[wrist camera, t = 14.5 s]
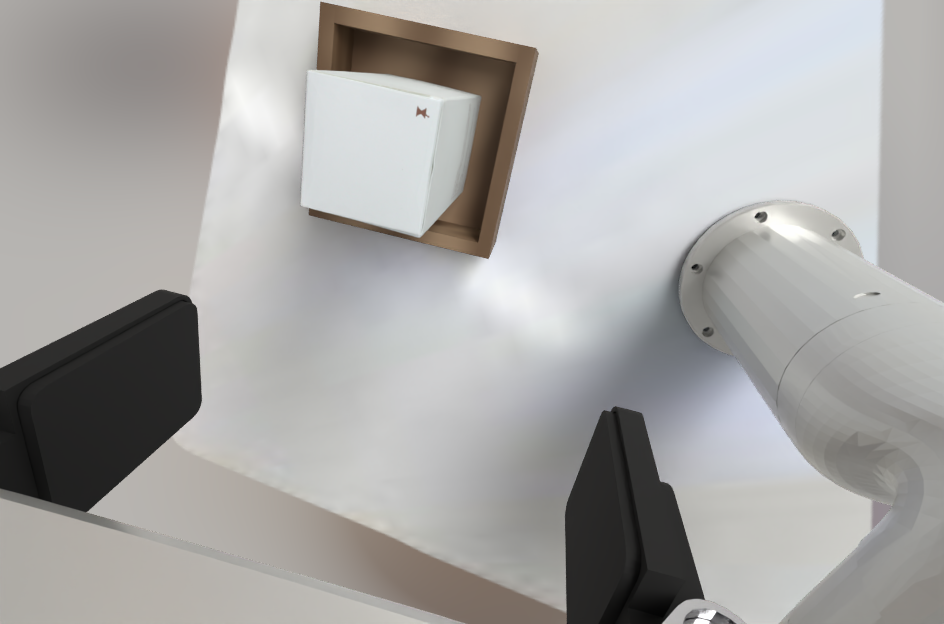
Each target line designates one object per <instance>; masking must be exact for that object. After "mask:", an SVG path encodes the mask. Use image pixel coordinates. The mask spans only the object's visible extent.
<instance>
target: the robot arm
mask: <svg viewBox="0 0 944 624" xmlns="http://www.w3.org/2000/svg"><path fill="white" fill-rule="evenodd" d="M758 212H760V215H759V217H757V218H754V217H755V215H756V213H758ZM834 231H836V232H835V234H833V235H832V233H833V232H834ZM695 264H697V267H696V268H691V267H692V266H693V265H695ZM678 295H679V300H680V306H681V309H682V312H683V314H684V316H685V318H686V321H687V322H688V324H689V325H690V327H691V329H692V330H693V331H694V332H695V334H696V335H697V336H698V337H699V338H700V339H701V340H702V341H704V342H705V343H707V344H708V345H709V346H711V347H712V348H714V349H716V350H718V351H721V352H723V353H725V354H728V355H732V356H735V358H736V359H737V361H738V362H739V364H740V365H741V367H742V368H743V370H744V371H745V373H746V374H747V376H748V377H749V379H750V380H751V382H752V383H753V385H754V386H755V388H756V389H757V391H758V392H759V394H760V395H761V397H762V398H763V400H764V401H765V403H766V404H767V406H768V407H769V409H770V410H771V412H772V413H773V415H774V416H775V418H776V419H777V421H778V422H779V424H780V425H781V427H782V428H783V430H784V431H785V433H786V434H787V435H788V437H789V438H790V439H791V441H792V442H793V444H794V445H795V447H796V448H797V450H798V451H799V452H800V453H801V455H802V456H803V457H804V458H805V459H806V461H807V462H808V463H809V464H810V465H811V466H812V467H814V468H815V469H816V470H817V471H818V472H819V473H820V474H822V475H823V476H825V477H826V478H828V479H829V480H831V481H832V482H834V483H835V484H837V485H839V486H840V487H842V488H844V489H846V490H848V491H850V492H853V493H855V494H858V495H860V496H863V497H866V498H868V499H871V500H874V501H877V502H880V503H884V504H888V505H892V507H891V508H890V510H889V512H888V513H887V515H886V516H885V517H884V518H883V519H882V520H881V521H880V522H879V524H878V525H877V526H876V527H875V528H874V529H873V530H872V531H871V532H870V533H869V534H868V535H867V536H865V537H864V538H863V539H862V540H861V541H860V543H859V545H858V547H857V548H856V549H855V550H853V551H852V552H851V553H850V554H849V555H848V556H847V557H846V558H845V559H844V560H843V561H842V562H841V563H840V564H839V565H838V566H837V567H836V568H835V569H833V570H832V571H831V572H830V573H829V574H828V575H827V576H826V577H825V578H824V579H823V580H822V581H821V582H820V583H819V584H818V585H817V586H816V587H815V588H813V589H812V590H811V591H810V592H809V593H808V594H807V595H806V596H805V597H804V598H803V599H802V600H801V601H800V602H799V603H798V604H797V605H796V607H795V608H794V609H792V610H791V611H790V612H789V613H788V614H787V615H786V616H785V617H784V618H783V619H782V620H781V622H780V623H779V624H944V303H943V302H941V301H939V300H937V299H936V298H934V297H932V296H930V295H928V294H927V293H925V292H923V291H921V290H919V289H917V288H916V287H914V286H912V285H910V284H908V283H906V282H905V281H903V280H901V279H899V278H897V277H896V276H894V275H892V274H890V273H888V272H887V271H885V270H883V269H881V268H879V267H877V266H876V265H874V264H872V263H870V262H868V261H866V260H865V259H864V257H863V254H862V251H861V247H860V244H859V242H858V240H857V239H856V237H855V235H854V234H853V232H852V230H851V229H850V228H849V227H848V226H847V225H846V224H845V223H844V222H843V221H842V220H841V219H839V218H838V217H836V216H834V215H833V214H831V213H829V212H828V211H826V210H823V209H821V208H819V207H816V206H814V205H811V204H806V203H802V202H797V201H779V200H778V201H770V202H763V203H758V204H755V205H751V206H748V207H745V208H742V209H740V210H738V211H736V212H734V213H732V214H730V215H728V216H726V217H724V218H723V219H721V220H720V221H718V222H717V223H716V224H714V225H713V226H711V227H710V228H709V229H708V230H707V231H706V232H705V233H704V234H703V235H702V236H701V237H700V238H699V239H698V241H697V242H696V243H695V245H694V246H693V248H692V249H691V250H690V252H689V254H688V256H687V258H686V260H685V262H684V264H683V266H682V270H681V274H680V278H679V294H678ZM707 327H708V328H707ZM704 328H707V329H706V330H703V329H704ZM201 402H202V395H201V375H200V354H199V334H198V314H197V308H196V306H195V305H194V304H192V301H191V299H190V298H189V297H188V296H186V295H182V294H178V293H174V292H170V291H167V290H158V291H155V292H153V293H151V294H149V295H147V296H145V297H143V298H141V299H139V300H137V301H135V302H133V303H131V304H129V305H127V306H125V307H123V308H121V309H119V310H117V311H115V312H113V313H111V314H109V315H107V316H105V317H103V318H101V319H99V320H97V321H95V322H93V323H91V324H89V325H87V326H85V327H83V328H81V329H79V330H77V331H75V332H73V333H71V334H69V335H67V336H65V337H63V338H61V339H59V340H57V341H55V342H53V343H51V344H49V345H47V346H45V347H43V348H41V349H39V350H37V351H35V352H33V353H31V354H28V355H26V356H24V357H22V358H20V359H19V360H16V361H14V362H12V363H10V364H8V365H6V366H4V367H2V368H0V624H465V623H462V622H459V621H455V620H452V619H449V618H446V617H443V616H440V615H436V614H432V613H429V612H426V611H422V610H419V609H416V608H413V607H409V606H406V605H403V604H399V603H396V602H392V601H389V600H386V599H382V598H379V597H376V596H372V595H369V594H365V593H362V592H359V591H355V590H352V589H349V588H345V587H342V586H338V585H335V584H332V583H328V582H325V581H322V580H318V579H315V578H311V577H308V576H305V575H301V574H298V573H294V572H291V571H288V570H284V569H281V568H277V567H274V566H270V565H267V564H264V563H260V562H256V561H253V560H250V559H246V558H243V557H240V556H236V555H233V554H229V553H226V552H222V551H219V550H215V549H212V548H208V547H205V546H202V545H198V544H195V543H191V542H188V541H184V540H181V539H177V538H174V537H170V536H167V535H164V534H160V533H157V532H153V531H150V530H146V529H143V528H139V527H135V526H132V525H128V524H125V523H121V522H118V521H114V520H111V519H107V518H104V517H100V516H97V515H93V514H89V513H86V512H87V511H89V510H90V509H91V508H92V507H93V506H94V505H95V504H96V503H97V502H98V501H100V500H101V499H102V498H103V497H104V496H105V495H106V494H108V493H109V492H110V491H111V490H112V489H113V488H114V487H115V486H117V485H118V484H119V483H120V482H121V481H122V480H123V479H124V478H125V477H127V476H128V475H129V474H130V473H131V472H132V471H133V470H134V469H135V468H137V467H138V466H139V465H140V464H141V463H142V462H143V461H144V460H146V459H147V458H148V457H149V456H150V455H151V454H152V453H154V452H155V451H156V450H157V449H158V448H159V447H160V446H161V445H162V444H164V443H165V442H166V441H167V440H168V439H169V438H170V437H171V436H173V435H174V434H175V433H176V432H177V431H178V430H179V429H180V428H182V427H183V426H184V425H185V424H186V423H187V422H188V421H189V420H190V419H192V418H193V417H194V416H195V415H196V414H197V412H198V410H199V408H200V406H201ZM565 539H566V601H567V624H746V623H745V622H744V621H743V620H742V619H741V618H739V617H738V616H736V615H735V614H734V613H732V612H731V611H730V610H728V609H727V608H725V607H723V606H720V605H718V604H716V603H714V602H712V601H707V600H705V598H704V595H703V591H702V588H701V584H700V581H699V577H698V574H697V570H696V567H695V563H694V560H693V556H692V553H691V550H690V546H689V543H688V539H687V536H686V532H685V529H684V525H683V522H682V518H681V515H680V511H679V508H678V505H677V501H676V498H675V494H674V491H673V489H672V487H671V486H670V485H669V484H668V483H664V482H660V480H659V476H658V472H657V468H656V464H655V460H654V457H653V453H652V449H651V445H650V441H649V437H648V434H647V430H646V426H645V422H644V418H643V415H642V413H640V412H636V411H632V410H628V409H624V408H620V407H616V406H615V407H613V409H612V410H611V412H609V411H605V410H604V411H603V412H602V414H601V416H600V418H599V421H598V424H597V426H596V429H595V431H594V434H593V437H592V439H591V442H590V444H589V447H588V450H587V452H586V455H585V457H584V460H583V462H582V465H581V468H580V470H579V473H578V475H577V478H576V481H575V483H574V486H573V488H572V491H571V494H570V496H569V499H568V502H567V506H566V512H565Z"/></svg>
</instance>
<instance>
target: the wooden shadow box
mask: <svg viewBox="0 0 944 624" xmlns="http://www.w3.org/2000/svg"><path fill="white" fill-rule="evenodd" d="M538 54H539V53H538V51H537V49H536V48H533V47H528V46H524V45H519V44H514V43H510V42H505V41H500V40H496V39H491V38H487V37H482V36H477V35H473V34H468V33H463V32H459V31H454V30H449V29H445V28H440V27H435V26H431V25H426V24H422V23H417V22H412V21H408V20H403V19H398V18H394V17H389V16H384V15H380V14H375V13H370V12H366V11H361V10H357V9H352V8H347V7H343V6H338V5H333V4H329V3H324V2H320V19H319V37H318V56H317V70H327V71H346V72H359V73H376V74H391V75H396V76H400V77H405V78H410V79H415V80H419V81H424V82H428V83H432V84H436V85H441V86H445V87H449V88H453V89H457V90H460V91H464V92H468V93H472V94H476V95H480V96H481V102H480V108H479V113H478V119H477V124H476V129H475V134H474V140H473V145H472V150H471V155H470V160H469V165H468V170H467V175H466V180H465V184H464V189H463V192H462V193H461V194H460V195H459V196H458V198H457V199H456V200H455V201H454V202H453V203H452V204H451V205H450V206H449V207H448V208H447V209H446V210H445V212H444V213H443V214H442V215H441V216H440V217H439V218H438V219H437V220H436V221H435V223H434V224H433V225H432V226H431V227H430V228H429V229H428V230H427V231H426V232H425V233H424V234H423V235H422V236H421V237H420V238H417V237H414V236H410V235H407V234H403V233H399V232H396V231H392V230H389V229H385V228H382V227H378V226H374V225H371V224H367V223H363V222H360V221H356V220H353V219H349V218H346V217H342V216H338V215H334V214H330V213H326V212H322V211H318V210H314V209H310V208H309V215H310V216H314V217H319V218H323V219H327V220H331V221H335V222H339V223H343V224H347V225H351V226H356V227H360V228H364V229H368V230H372V231H376V232H380V233H384V234H388V235H393V236H397V237H401V238H405V239H409V240H413V241H417V242H421V243H425V244H430V245H434V246H438V247H442V248H446V249H450V250H454V251H458V252H462V253H466V254H471V255H475V256H479V257H483V258H487V259H489V257H490V254H491V252H492V249H493V247H494V245H495V242H496V238H497V234H498V229H499V225H500V220H501V216H502V212H503V207H504V203H505V198H506V194H507V190H508V185H509V181H510V176H511V172H512V168H513V163H514V159H515V155H516V150H517V146H518V141H519V137H520V133H521V128H522V124H523V119H524V115H525V111H526V106H527V102H528V97H529V93H530V89H531V84H532V80H533V76H534V71H535V67H536V62H537V58H538Z"/></svg>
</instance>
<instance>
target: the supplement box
mask: <svg viewBox="0 0 944 624" xmlns="http://www.w3.org/2000/svg"><path fill="white" fill-rule="evenodd" d="M480 102H481V96H480V95H476V94H472V93H468V92H464V91H460V90H457V89H453V88H449V87H445V86H441V85H436V84H432V83H428V82H424V81H419V80H415V79H410V78H405V77H400V76H396V75H391V74H376V73H359V72H346V71H327V70H308V71H307V77H306V97H305V116H304V137H303V157H302V178H301V199H300V205H301V207H306V208H310V209H314V210H318V211H322V212H326V213H330V214H334V215H338V216H342V217H346V218H349V219H353V220H356V221H360V222H363V223H367V224H371V225H374V226H378V227H382V228H385V229H389V230H392V231H396V232H399V233H403V234H407V235H410V236H414V237H417V238H420V237H421V236H422V235H423V234H424V233H425V232H426V231H427V230H428V229H429V228H430V227H431V226H432V225H433V224H434V223H435V221H436V220H437V219H438V218H439V217H440V216H441V215H442V214H443V213H444V212H445V210H446V209H447V208H448V207H449V206H450V205H451V204H452V203H453V202H454V201H455V200H456V199H457V198H458V196H459V195H460V194H461V193H462V192H463V189H464V184H465V180H466V175H467V170H468V165H469V160H470V155H471V150H472V145H473V140H474V134H475V129H476V124H477V119H478V113H479V108H480Z"/></svg>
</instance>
